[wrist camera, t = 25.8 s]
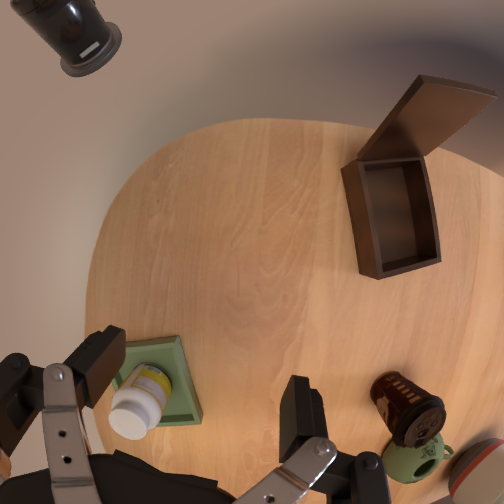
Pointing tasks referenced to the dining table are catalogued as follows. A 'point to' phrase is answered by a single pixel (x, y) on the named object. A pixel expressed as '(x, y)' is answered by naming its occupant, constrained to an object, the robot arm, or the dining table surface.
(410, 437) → the coffee cup
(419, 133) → the lid
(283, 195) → the dining table surface
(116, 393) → the pill bottle
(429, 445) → the green ceramic domed vessel
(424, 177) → the brown wooden box
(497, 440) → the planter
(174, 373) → the tray
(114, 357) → the robot arm
